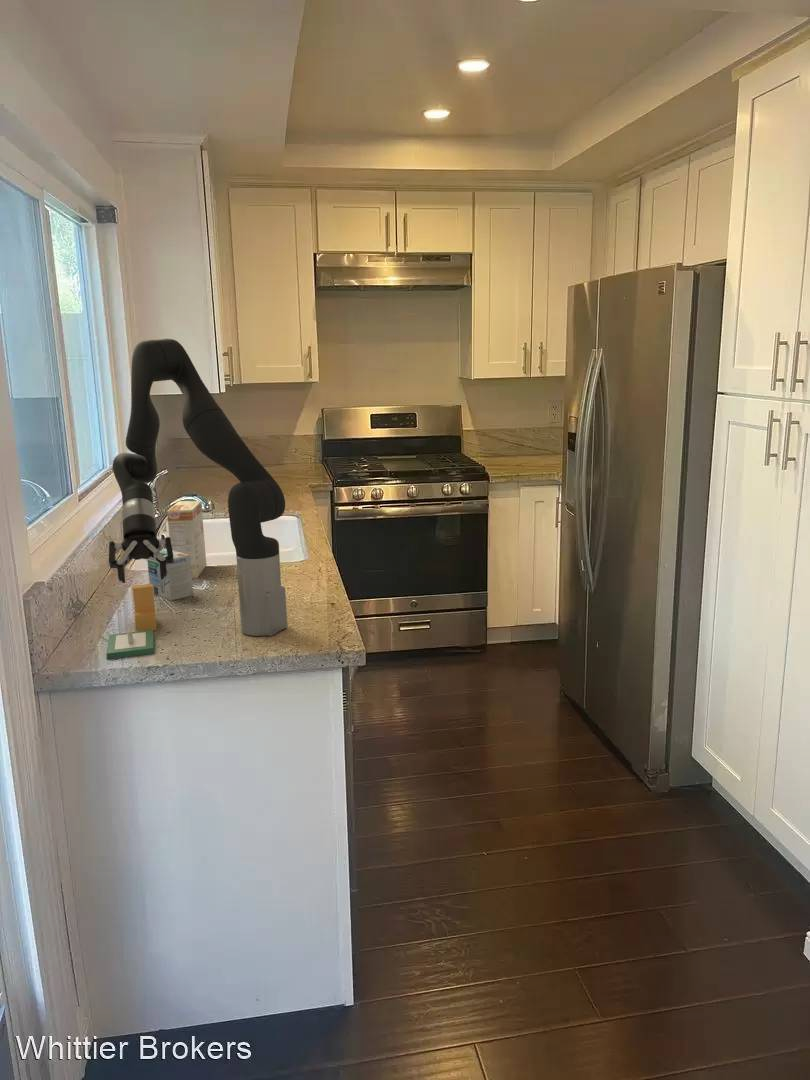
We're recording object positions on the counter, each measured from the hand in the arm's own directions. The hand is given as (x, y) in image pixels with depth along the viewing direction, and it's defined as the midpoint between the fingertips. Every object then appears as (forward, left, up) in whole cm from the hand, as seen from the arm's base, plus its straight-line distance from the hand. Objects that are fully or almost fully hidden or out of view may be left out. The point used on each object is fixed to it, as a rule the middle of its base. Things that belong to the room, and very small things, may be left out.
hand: (143, 579), depth 177 cm
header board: (-10, +15, -10) cm, 20 cm away
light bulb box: (+10, -18, -10) cm, 23 cm away
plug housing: (-2, +3, -10) cm, 10 cm away
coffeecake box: (+21, -37, -10) cm, 44 cm away
